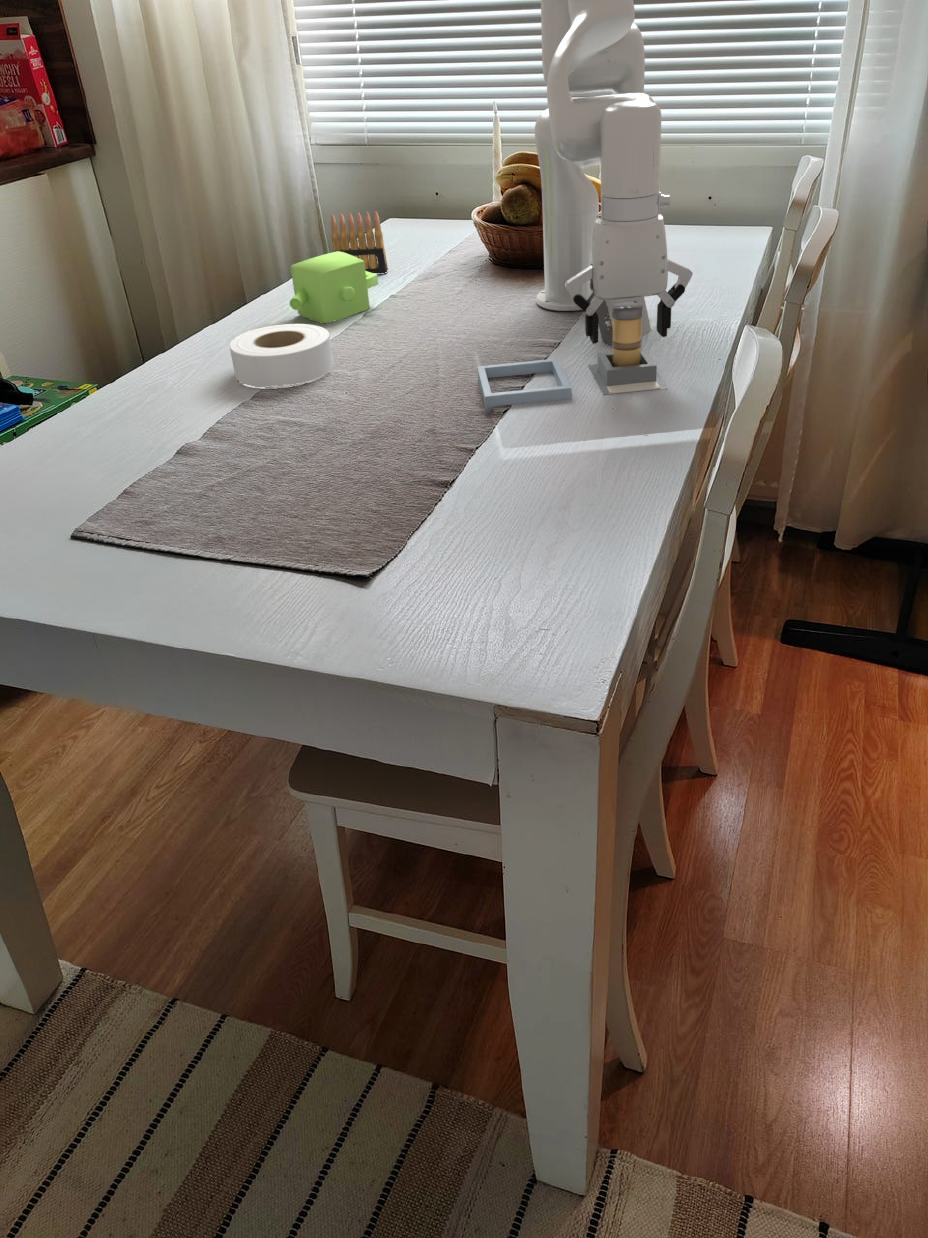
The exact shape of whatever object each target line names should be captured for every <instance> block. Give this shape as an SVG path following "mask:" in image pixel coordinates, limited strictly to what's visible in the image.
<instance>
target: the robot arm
mask: <svg viewBox="0 0 928 1238" xmlns="http://www.w3.org/2000/svg"><path fill="white" fill-rule="evenodd" d="M634 3H635V2H634V0H540V13H541V14H540V15H541V16H540V18H541V19H540V21H541V27H540V29H541V60H542V62H541V63H542V74H543V79H544V84H545V86H546V98H547V99H546V100H547V108H546V109H544V110H543V111H542V112H541V113H540V114H539V116H538V117H537V119H536V121H535V125H534V141H535V147H536V148H535V149H536V153H537V159H538V164H539V171H540V180H541V181H540V183H541V184H540V185H541V202H542V203H541V205H542V207H541V208H542V229H543V231H542V232H543V233H542V234H543V265H544V266H543V269H544V271H543V272H544V289H543V290H541V291H540V292H538V293H537V295H536V304H537V305H538V306H539V307H541V308H543V309H546V310H550V311H557V312H558V311H559V312H576V311H583V312H584V313H585V315H584V318H585V319H584V321H585V322H584V323H585V325H584V326H585V327H584V328H585V329H584V330H585V336H586V337H589V340H590V341H591V343H592V344H593V345H596V344H598V343H599V324H598V315H597V313H596V310H597V309H598V307H599V306H600V305H601V303H602V302H603V301H604V300H615V299H626V298H636V297H644V298H645V297H651V296H652V297H653V296H657V297H658V298H659V299H660V300H659V302H658V303H657V306H656V307H657V308H656V332H657V333H658V334H659V336H660V337H662V338H665V337H666V338H667V336H668V329H671V326H672V324H671V323H672V308H673V307H674V306H675V304H676V302H677V301H678V299H679V298H680V297H682V295H683V294H685V292H686V288H687V286H688V284H689V283H690V281H691V279H692V277H693V275H694V274H693V271H692V270H691V269H689V268H687V267H685V266H683V265H681V264H678V263H677V262H674V261H673V260H670V259H669V258H668V245H667V234H666V233H667V232H666V227H665V221H664V217H663V215H662V214H661V210H662V208H664V207H669V206H670V205H671V197H670V194H662V192H661V191H660V182H661V181H660V179H661V178H660V177H661V176H660V174H661V151H662V150H661V147H662V145H661V144H662V143H661V142H662V111H661V110H662V109H661V108H660V107H659V105H658V104H657V103H655V101H654V99H653V98H652V96H651V95H649V94H646V93H645V75H646V74H645V72H646V68H645V67H646V63H645V62H646V61H645V57H646V56H645V55H646V54H645V44H644V39H643V35H642V33H641V29H640V28H639V27H638V26H637V24H635V23H634V21H635V17H636V14H635V13H636V12H635V4H634ZM607 91H608V92H609V91H610V92H612V94H606V95H595V96H585V97H577V98H573V97H571V95H576V94H587V93H599V92H607ZM593 166H600V198H599V193H598V190H597V187H596V186H595V184H594V183H593V181H591V180H590V178H588V176H587V175H586V173H584V169H585V168H589V167H593ZM599 200H600V201H599ZM599 202H600V203H599ZM599 205H600V206H599ZM599 211H600V212H599ZM599 213H600V215H599ZM599 216H600V217H599ZM669 273H671V274H674V275H676V276H678V278H677V279H676V282H675V283H674V285H672V286H671V288H670V289H669V290H668V291H667V290H666V289H667V287H668V279H669V277H668V276H669Z"/></svg>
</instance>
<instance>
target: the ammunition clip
mask: <svg viewBox="0 0 928 1238" xmlns="http://www.w3.org/2000/svg"><path fill="white" fill-rule="evenodd" d="M373 216H374V217H373V222H374V223H372V220H371V215H370V213H369V212H368V211H366V212H365V226H364V223H363V218H362V216H361V214H360V212H359V211H358V212H357V215H356V225H357V226H355V222H354V221H355V220H354V218H353V215H352V213H351V212H349V213H348V216H347V218H348V219H347V220H348V222H347V223H348V225H346V221H345V217H344V215H343V213H340V214H339V229H338V224H337V221H336V218H335V215H334V214H333V213H331V215H330V227H331V228H330V230H331V243H332V251H333V252H336V251H339V252H344V253H347V254H350V255H352V256H354V257H357V258H359V259H361V260H364V264H365V271H367V272H370V273H385V272H387V270H388V271H389V268H388V263H387V262H388V261H387V256H386V250H385V244H384V243H385V242H384V233H383V231H382V226H381V221H380V217H379V213H378V211H377V210H375V211H374V215H373ZM373 225H374V226H373ZM347 226H348V229H347ZM355 227H357V232H356V228H355ZM364 227H365V228H364ZM373 227H374V230H373ZM347 230H348V231H347ZM339 232H340V233H339ZM387 273H388V272H387Z"/></svg>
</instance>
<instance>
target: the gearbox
mask: <svg viewBox="0 0 928 1238" xmlns="http://www.w3.org/2000/svg"><path fill="white" fill-rule="evenodd" d="M290 274H291V279H292V286H293V292H294V296H293V297H292V298H291V299H290V300H289V305H290V307H291V309H292V310H295V311H297V314H298V315H299V316H301V315H302V316H301V317H303V316H304V317H303V318H305V317H307V318H309V319H308V320H310V319H312V320H311V321H313V320H315V321H314V322H316V321H318V322H317V323H319V322H321V323H320V324H323V323H326V324H328V323H327V322H329V323H332V322H331V321H333V322H335V321H334V320H336V321H339V320H342V319H344V318H347V317H350V316H351V317H352V316H353V315H356V314H358V313H361V312H364V311H367V310H369V309H370V299H369V289H371V288H373V287H377V286H378V285H379V278H378V276H379V275H376V274H373V273H370V272H367V271H365V264H364V260H361V259H359V258H357V257H354V256H352V255H350V254H347V253H344V252H339V251H336V252H328V253H325V254H321V255H318V256H315V257H311V258H308V259H305V260H302V261H299V262H296V263H294V264H291V265H290ZM307 318H306V319H307ZM341 318H342V319H341ZM338 319H339V320H338Z"/></svg>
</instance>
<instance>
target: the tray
mask: <svg viewBox="0 0 928 1238" xmlns="http://www.w3.org/2000/svg"><path fill="white" fill-rule="evenodd" d="M560 362H561V361H560V360H559V358H558V357H557V358H547V359H538V360H537V359H536V360H530V361H528V360H527V361H520V362H509V363H508V362H506V363H498V364H488V365H478V366H476V369H477V371H476V372H477V379H478V380H477V381H478V386H479V391H480V394H481V395H480V396H481V399H482V403H483V407H484V411H485V414H486V413H487V414H495V410H494V407H500V406H501V407H503V406H510V405H521V404H522V405H523V404H532V403H539V402H540V403H541V402H542V403H543V402H550V401H559V400H569V399H570V400H571V399H572V386H571V384H570V383H569V380H568V377H567V375H566V374H565V371H564V369H563V367H562V365H561V363H560ZM550 372H552V374H553V376H554V379H555V382H556V383H557V385H558V386H550V387H549V386H548V387H538V388H530V389H521V390H511V391H510V390H509V391H499V392H492V391H491V386H490V383H489V380H488V379H491V378H500V377H510V376H520V375H521V376H522V375H530V374H539V373H550Z"/></svg>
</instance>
